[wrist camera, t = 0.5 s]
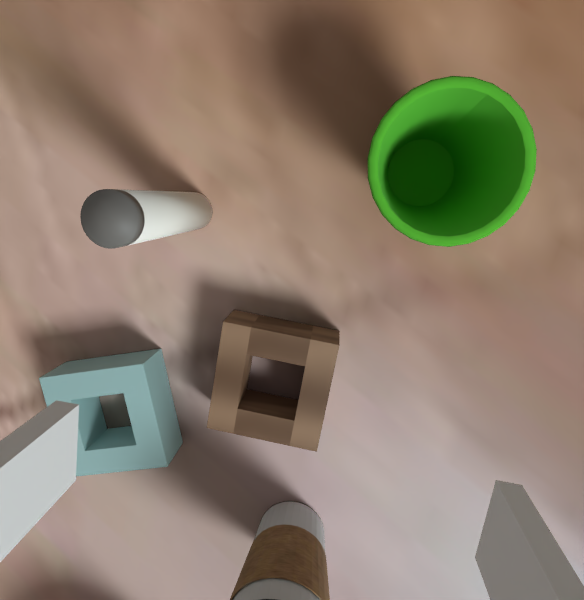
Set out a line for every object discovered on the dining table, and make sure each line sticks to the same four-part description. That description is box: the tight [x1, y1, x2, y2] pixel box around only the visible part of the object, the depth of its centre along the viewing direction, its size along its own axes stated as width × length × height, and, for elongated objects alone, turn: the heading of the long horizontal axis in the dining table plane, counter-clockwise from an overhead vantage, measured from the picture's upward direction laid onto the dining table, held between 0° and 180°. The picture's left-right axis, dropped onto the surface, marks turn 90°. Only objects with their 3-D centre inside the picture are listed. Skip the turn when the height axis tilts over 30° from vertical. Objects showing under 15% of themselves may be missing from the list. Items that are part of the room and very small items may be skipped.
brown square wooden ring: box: [207, 310, 339, 452], centre depth 40 cm, size 9×9×4 cm
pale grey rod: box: [81, 189, 212, 248], centre depth 32 cm, size 3×3×15 cm
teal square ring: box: [39, 349, 183, 476], centre depth 42 cm, size 9×9×4 cm
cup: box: [368, 76, 537, 247], centre depth 32 cm, size 9×9×11 cm
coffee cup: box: [230, 501, 330, 600], centre depth 37 cm, size 8×8×15 cm
